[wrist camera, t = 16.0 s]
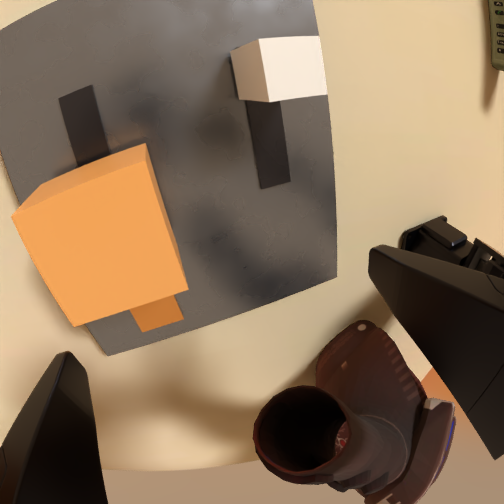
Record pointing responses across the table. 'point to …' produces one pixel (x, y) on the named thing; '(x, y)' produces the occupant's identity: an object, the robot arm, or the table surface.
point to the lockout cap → (102, 237)
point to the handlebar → (358, 423)
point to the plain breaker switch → (279, 69)
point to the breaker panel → (179, 144)
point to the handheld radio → (497, 33)
